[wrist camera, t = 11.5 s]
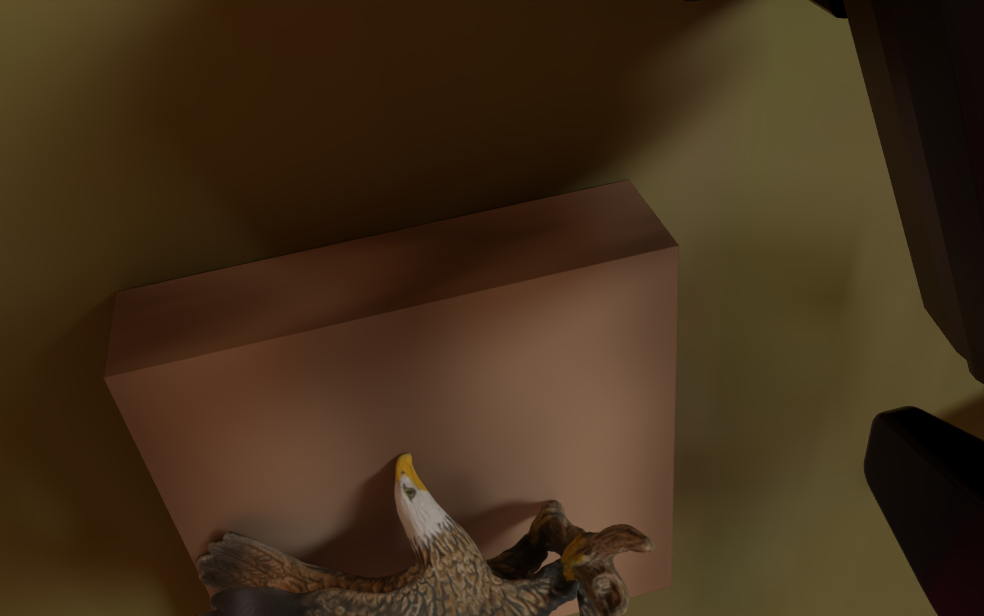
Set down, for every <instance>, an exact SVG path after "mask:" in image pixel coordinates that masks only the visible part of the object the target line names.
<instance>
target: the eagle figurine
mask: <svg viewBox="0 0 984 616" xmlns="http://www.w3.org/2000/svg"><path fill="white" fill-rule="evenodd" d="M395 473H396V478H395V501H396V507H397V512H398V515H399V518H400V520H401V522H402V524H403V527H404V529H405V532H406V534H407V536H408V538H409V540H410V542H411V546H412V550H413V553H414V555H415V557H416V561H415V562H414V563H413V564H412V565H411V566H410V567H408V568H406V569H405V570H403V571H401V572H398V573H396V574H394V575H390V576H385V577H378V578H369V577H363V576H359V575H353V574H348V573H344V572H340V571H337V570H333V569H328V568H325V567H322V566H319V565H315V564H308V563H305V562H302V561H300V560H299V559H297V558H295V557H292V556H290V555H288V554H286V553H284V552H282V551H280V550H278V549H275V548H273V547H270V546H267V545H265V544H263V543H262V542H259V541H257V540H255V539H253V538H251V537H247V536H244V535H241V534H238V533H235V532H231V531H229V532H226V533H225V534H224V536H223V541H213V542H211V543H210V544H209V545H208V551H209V552H210V553H211V554H207V555H203V556H201V557H200V558H199V559H198V560H197V563H196V564H197V566H198V567H199V568H200V569H203V570H202V571H201V572H200V573H199V579H200V580H201V581H202V582H203V584H205V585H208V586H210V587H213V588H215V589H217V590H216V591H215V594H214V595H212V596H211V598H210V600H209V603H210V606H211V608H212V611H209V612H205V613H203V614H200V615H196V616H549V615H550V613H551V612H552V611H554V610H556V609H557V608H558V607H559V606H561V605H563V604H564V603H566V602H568V601H572V600H574V599H575V598H576V597H577V601H578V607H579V613H580V616H622V615H624V613H625V612H626V611H627V610H628V606H629V592H628V589H627V587H626V585H625V583H624V581H623V579H622V578H621V576H620V575H619V573H618V572H617V570H616V568H615V566H614V563H613V559H614V557H615V555H618V554H621V553H623V552H628V551H633V552H638V553H651V552H652V551H653V550H654V549H655V544H654V542H653V541H652V540H651V539H650V538H649V537H647V536H646V535H644V534H643V533H642V532H640V531H639V530H637V529H636V528H634V527H633V526H630V525H627V524H618V525H611V526H610V527H607V528H605V529H603V530H602V531H600V532H595V533H594V532H586V531H585V530H584V529H582V528H580V527H578V526H574V525H573V524H572V523H571V522H570V521H569V520H568V519H567V517H566V516H565V512H564V508H563V506H562V504H561V503H560V502H559V501H556V500H553V501H552V502H551V503H547V504H544V505H543V506H542V507H541V511H540V512H539V513H538V514H537V515H536V517H535V519H534V520H533V522H532V524H531V526H530V529H529V532H528V533H527V534H525V535H524V536H523V537H522V538H521V539H520V540H519V541H518V542H517V543H516V544H515V545H514V546H513V547H512V548H510V549H507V550H505V551H503V552H502V553H501V554H500V555H498V556H496V557H495V558H492V559H488V560H485V559H484V557H483V555H482V553H481V552H480V550H479V549H478V547H477V546H476V544H475V543H474V541H473V540H472V539H471V537H470V536H469V535H468V533H467V532H466V531H465V530H464V529H463V528H462V527H461V526H460V525H459V524H458V523H457V522H455V521H454V520H453V519H452V518H451V517H450V516H449V515H448V514H447V513H446V512H445V511H444V510H443V509H442V508H441V507H440V506H439V505H438V504H437V503H436V501H435V500H434V499H433V497H432V496H431V494H430V493H429V492H428V490H427V489H426V487H425V486H424V484H423V483H422V482H421V480H420V479H419V477H418V476H417V474H416V472H415V470H414V468H413V464H412V456H411V454H410V453H406V454H402V455H401V456H400V457H399V458H398V460H397V463H396V471H395ZM548 551H550V552H555V553H557V554H559V555H560V557H561V558H559V559H557V560H555V561H554V562H552V563H549V564H547V565H545V566H543V567H542V568H541V569H540V570H539V568H540V567H541V565H542V563H543V562H544V561H545V560H546V559H547V557H548ZM538 570H539V571H538ZM537 571H538V572H537ZM535 572H536V573H535Z"/></svg>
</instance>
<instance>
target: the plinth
mask: <svg viewBox="0 0 984 616" xmlns="http://www.w3.org/2000/svg"><path fill="white" fill-rule="evenodd" d="M678 255H679V245H678V244H677V243H676V241H675V240H674V239H673V237H672V236H671V235H670V233H669V232H668V231H667V229H666V228H665V227H664V225H663V224H662V223H661V221H660V220H659V219H658V217H657V216H656V215H655V213H654V212H653V211H652V209H651V208H650V207H649V205H648V204H647V203H646V201H645V200H644V199H643V197H642V196H641V195H640V193H639V192H638V191H637V189H636V188H635V187H634V185H633V184H632V183H631V181H630V180H625V181H621V182H616V183H611V184H607V185H602V186H598V187H593V188H589V189H584V190H580V191H575V192H570V193H566V194H561V195H557V196H552V197H548V198H543V199H539V200H534V201H529V202H525V203H520V204H516V205H511V206H507V207H502V208H498V209H493V210H488V211H484V212H479V213H475V214H470V215H466V216H461V217H456V218H452V219H447V220H443V221H438V222H434V223H429V224H425V225H420V226H415V227H411V228H406V229H402V230H397V231H393V232H388V233H384V234H379V235H374V236H370V237H365V238H361V239H356V240H352V241H347V242H343V243H338V244H333V245H329V246H324V247H320V248H315V249H311V250H306V251H301V252H297V253H292V254H288V255H283V256H279V257H274V258H270V259H265V260H260V261H256V262H251V263H247V264H242V265H238V266H233V267H229V268H224V269H219V270H215V271H210V272H206V273H201V274H197V275H192V276H188V277H183V278H178V279H174V280H169V281H165V282H160V283H156V284H151V285H147V286H142V287H137V288H133V289H128V290H124V291H119V292H116V297H115V303H114V310H113V317H112V324H111V330H110V337H109V344H108V351H107V357H106V364H105V371H104V380H105V382H106V384H107V386H108V388H109V390H110V392H111V395H112V397H113V399H114V401H115V403H116V405H117V407H118V409H119V411H120V413H121V415H122V417H123V419H124V421H125V423H126V425H127V427H128V429H129V431H130V434H131V436H132V438H133V440H134V442H135V444H136V446H137V448H138V450H139V452H140V454H141V456H142V458H143V460H144V462H145V464H146V466H147V468H148V471H149V473H150V475H151V477H152V479H153V481H154V483H155V485H156V487H157V489H158V491H159V493H160V495H161V497H162V499H163V501H164V503H165V505H166V508H167V510H168V512H169V514H170V516H171V518H172V520H173V522H174V524H175V526H176V528H177V530H178V532H179V534H180V536H181V538H182V540H183V542H184V544H185V547H186V549H187V551H188V553H189V555H190V557H191V559H192V561H193V563H194V565H195V567H196V569H197V571H198V573H200V572H201V571H202V570H203V569H200V568H199V567H198V566H197V564H196V563H197V560H198V559H199V558H200V557H201V556H203V555H207V554H211V553H210V552H209V551H208V545H209V544H210V543H211V542H213V541H223V536H224V534H225V533H226V532H229V531H231V532H235V533H238V534H241V535H244V536H247V537H251V538H253V539H255V540H257V541H259V542H262V543H263V544H265V545H267V546H270V547H273V548H275V549H278V550H280V551H282V552H284V553H286V554H288V555H290V556H292V557H295V558H297V559H299V560H300V561H302V562H305V563H308V564H315V565H319V566H322V567H325V568H328V569H333V570H337V571H340V572H344V573H348V574H353V575H359V576H363V577H369V578H378V577H385V576H390V575H394V574H396V573H398V572H401V571H403V570H405V569H406V568H408V567H410V566H411V565H412V564H413V563H414V562H415V561H416V557H415V555H414V553H413V550H412V546H411V542H410V540H409V538H408V536H407V534H406V532H405V529H404V527H403V524H402V522H401V520H400V518H399V515H398V512H397V507H396V501H395V478H396V473H395V471H396V463H397V460H398V458H399V457H400V456H401V455H402V454H406V453H410V454H411V456H412V464H413V468H414V470H415V472H416V474H417V476H418V477H419V479H420V480H421V482H422V483H423V484H424V486H425V487H426V489H427V490H428V492H429V493H430V494H431V496H432V497H433V499H434V500H435V501H436V503H437V504H438V505H439V506H440V507H441V508H442V509H443V510H444V511H445V512H446V513H447V514H448V515H449V516H450V517H451V518H452V519H453V520H454V521H455V522H457V523H458V524H459V525H460V526H461V527H462V528H463V529H464V530H465V531H466V532H467V533H468V535H469V536H470V537H471V539H472V540H473V541H474V543H475V544H476V546H477V547H478V549H479V550H480V552H481V553H482V555H483V557H484V559H485V560H488V559H492V558H495V557H496V556H498V555H500V554H501V553H502V552H503V551H505V550H507V549H510V548H512V547H513V546H514V545H515V544H516V543H517V542H518V541H519V540H520V539H521V538H522V537H523V536H524V535H525V534H527V533H528V532H529V529H530V526H531V524H532V522H533V520H534V519H535V517H536V515H537V514H538V513H539V512H540V511H541V507H542V506H543V505H544V504H547V503H551V502H552V501H553V500H556V501H559V502H560V503H561V504H562V506H563V508H564V512H565V516H566V517H567V519H568V520H569V521H570V522H571V523H572V524H573V525H574V526H578V527H580V528H582V529H584V530H585V531H586V532H594V533H595V532H600V531H602V530H603V529H605V528H607V527H610V526H611V525H618V524H627V525H630V526H633V527H634V528H636V529H637V530H639V531H640V532H642V533H643V534H644V535H646V536H647V537H649V538H650V539H651V540H652V541H653V542H654V544H655V549H654V550H653V551H652V552H651V553H638V552H633V551H628V552H623V553H621V554H618V555H615V557H614V559H613V563H614V566H615V568H616V570H617V572H618V573H619V575H620V576H621V578H622V579H623V581H624V583H625V585H626V587H627V589H628V592H629V598H631V597H634V596H638V595H642V594H645V593H649V592H652V591H656V590H659V589H663V588H667V587H670V586H671V575H672V529H673V484H674V438H675V392H676V346H677V300H678ZM559 558H561V557H560V555H559V554H557V553H555V552H550V551H548V557H547V559H546V560H545V561H544V562H543V563H542V565H541V567H540V568H539V570H540V569H541V568H542V567H543V566H545V565H547V564H549V563H552V562H554V561H555V560H557V559H559ZM539 570H538V571H539ZM538 571H537V572H538ZM535 573H536V572H535ZM204 586H205V588H206V590H207V592H208V594H209V596H210V598H211V596H212V595H214V594H215V591H216V590H217V589H215V588H213V587H210V586H208V585H205V584H204ZM577 612H579V607H578V601H577V597H576V598H575V599H574V600H572V601H568V602H566V603H564V604H563V605H561V606H559V607H558V608H557V609H556V610H554V611H552V612H551V613H550V615H549V616H566V615H570V614H573V613H577Z"/></svg>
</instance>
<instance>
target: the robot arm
mask: <svg viewBox="0 0 984 616" xmlns="http://www.w3.org/2000/svg"><path fill="white" fill-rule="evenodd" d="M684 1H698V0H684ZM809 1H811V2H812V3H814V4H816V5H817V6H819V7H820V8H822V9H824V10H825V11H827V12H828V13H830V14H832V15H833V16H835V17H836V18H845V19H846V18H848V21H849V25H850V29H851V32H852V36H853V40H854V44H855V48H856V51H857V55H858V59H859V63H860V66H861V70H862V74H863V78H864V82H865V85H866V89H867V93H868V97H869V100H870V104H871V108H872V112H873V115H874V119H875V123H876V127H877V131H878V134H879V138H880V142H881V146H882V149H883V153H884V157H885V161H886V165H887V168H888V172H889V176H890V180H891V183H892V187H893V191H894V195H895V199H896V202H897V206H898V210H899V214H900V217H901V221H902V225H903V229H904V232H905V236H906V240H907V244H908V248H909V251H910V255H911V259H912V263H913V266H914V270H915V274H916V278H917V282H918V285H919V289H920V293H921V297H922V300H923V304H924V308H925V309H926V310H927V312H928V313H929V315H930V316H931V317H932V319H933V320H934V321H935V323H936V324H937V326H938V327H939V328H940V330H941V331H942V332H943V334H944V335H945V337H946V338H947V339H948V341H949V342H950V343H951V345H952V346H953V348H954V349H955V350H956V352H957V353H959V354H960V355H961V356H962V357H963V358H965V359H966V360H967V363H968V367H969V371H970V373H971V374H972V375H973V376H974V378H975V379H976V380H978V381H979V382H981V383H983V384H984V0H809ZM864 473H865V477H866V480H867V483H868V485H869V487H870V489H871V491H872V493H873V495H874V497H875V499H876V501H877V503H878V505H879V507H880V508H881V510H882V512H883V514H884V516H885V518H886V520H887V522H888V524H889V526H890V528H891V530H892V532H893V534H894V535H895V537H896V539H897V541H898V543H899V545H900V547H901V549H902V551H903V553H904V555H905V557H906V559H907V560H908V562H909V564H910V566H911V568H912V570H913V572H914V574H915V576H916V578H917V580H918V582H919V584H920V585H921V587H922V589H923V591H924V593H925V594H926V596H927V598H928V600H929V602H930V603H931V605H932V607H933V608H934V610H935V611H936V613H937V615H938V616H984V441H983V440H981V439H979V438H977V437H975V436H973V435H971V434H969V433H967V432H965V431H963V430H961V429H959V428H957V427H955V426H953V425H951V424H949V423H947V422H945V421H943V420H941V419H939V418H937V417H935V416H933V415H931V414H929V413H927V412H925V411H923V410H922V409H919V408H916V407H913V406H904V407H900V408H896V409H892V410H889V411H885V412H881V413H879V414H877V415H876V417H875V418H874V419H873V422H872V425H871V430H870V435H869V440H868V445H867V450H866V455H865V460H864Z"/></svg>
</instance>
